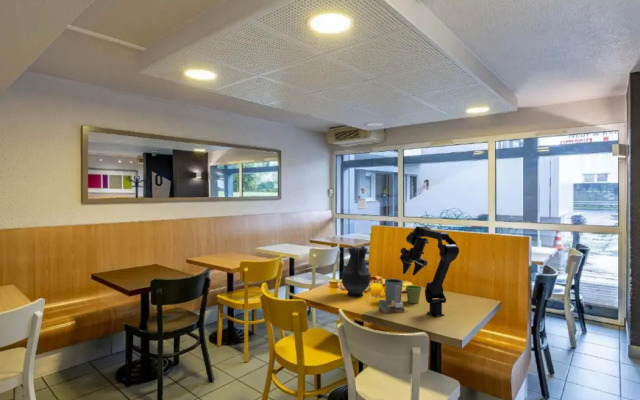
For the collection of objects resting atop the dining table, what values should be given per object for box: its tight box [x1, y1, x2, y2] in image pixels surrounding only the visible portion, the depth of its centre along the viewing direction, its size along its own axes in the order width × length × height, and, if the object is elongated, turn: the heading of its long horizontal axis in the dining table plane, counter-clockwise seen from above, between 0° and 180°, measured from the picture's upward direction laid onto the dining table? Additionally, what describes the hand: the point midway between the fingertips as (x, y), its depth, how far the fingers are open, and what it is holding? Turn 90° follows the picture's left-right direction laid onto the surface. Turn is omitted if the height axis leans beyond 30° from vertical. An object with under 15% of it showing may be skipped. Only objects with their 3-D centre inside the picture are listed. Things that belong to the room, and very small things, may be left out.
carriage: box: [391, 285, 404, 308], centre depth 191 cm, size 4×5×10 cm
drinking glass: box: [384, 278, 404, 304], centre depth 209 cm, size 10×10×12 cm
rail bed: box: [378, 299, 405, 314], centre depth 190 cm, size 12×5×6 cm, turn 105°
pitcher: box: [341, 246, 371, 298], centre depth 219 cm, size 17×21×30 cm
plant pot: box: [404, 284, 423, 304], centre depth 209 cm, size 9×9×9 cm
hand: (408, 274), depth 203 cm, fingers open, 9 cm apart
